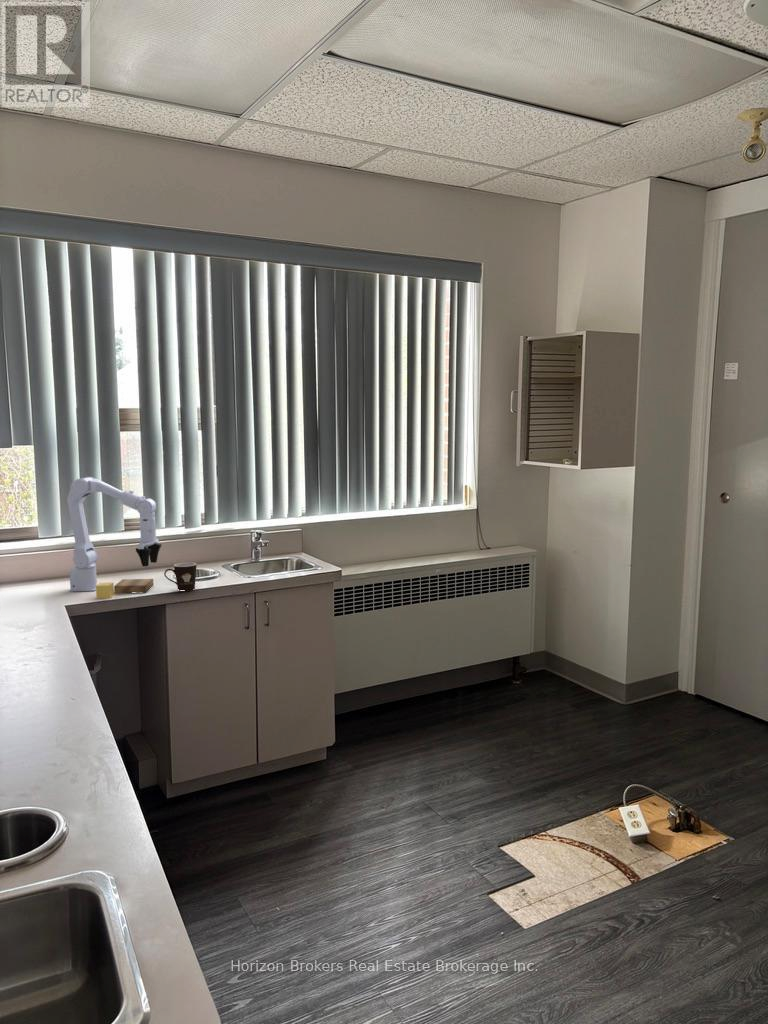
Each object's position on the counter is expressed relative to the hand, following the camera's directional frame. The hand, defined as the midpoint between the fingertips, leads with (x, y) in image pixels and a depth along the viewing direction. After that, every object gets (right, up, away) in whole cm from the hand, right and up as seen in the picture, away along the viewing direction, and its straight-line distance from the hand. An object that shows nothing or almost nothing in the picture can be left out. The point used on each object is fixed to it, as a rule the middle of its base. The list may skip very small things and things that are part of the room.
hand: (149, 564), depth 302 cm
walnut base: (-6, -10, 0) cm, 12 cm away
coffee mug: (+13, -10, -1) cm, 17 cm away
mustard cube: (-13, -12, -11) cm, 21 cm away
